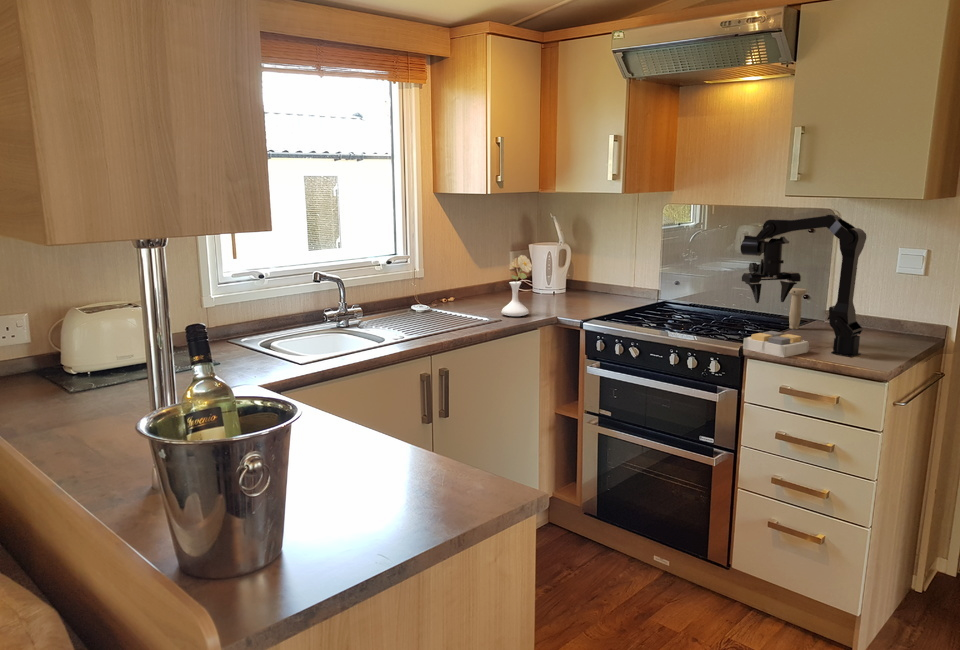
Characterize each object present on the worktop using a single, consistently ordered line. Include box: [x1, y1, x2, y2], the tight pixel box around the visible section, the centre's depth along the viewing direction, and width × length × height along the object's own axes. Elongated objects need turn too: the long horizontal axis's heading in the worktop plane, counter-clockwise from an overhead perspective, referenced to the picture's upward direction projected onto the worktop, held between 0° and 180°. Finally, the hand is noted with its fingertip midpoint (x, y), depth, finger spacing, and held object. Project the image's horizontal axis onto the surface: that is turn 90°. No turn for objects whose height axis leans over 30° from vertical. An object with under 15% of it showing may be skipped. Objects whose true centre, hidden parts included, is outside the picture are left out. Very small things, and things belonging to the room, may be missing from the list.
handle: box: [788, 287, 807, 330], centre depth 273 cm, size 5×6×15 cm
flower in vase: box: [501, 254, 533, 317], centre depth 300 cm, size 13×11×25 cm
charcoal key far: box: [762, 330, 785, 337], centre depth 243 cm, size 5×5×3 cm
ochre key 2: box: [780, 333, 802, 343], centre depth 238 cm, size 5×5×3 cm
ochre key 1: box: [750, 332, 773, 342], centre depth 240 cm, size 5×5×3 cm
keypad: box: [742, 336, 810, 358], centre depth 239 cm, size 15×13×4 cm
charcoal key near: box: [768, 336, 790, 345], centre depth 234 cm, size 5×5×3 cm
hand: (769, 302), depth 250 cm, fingers open, 9 cm apart
